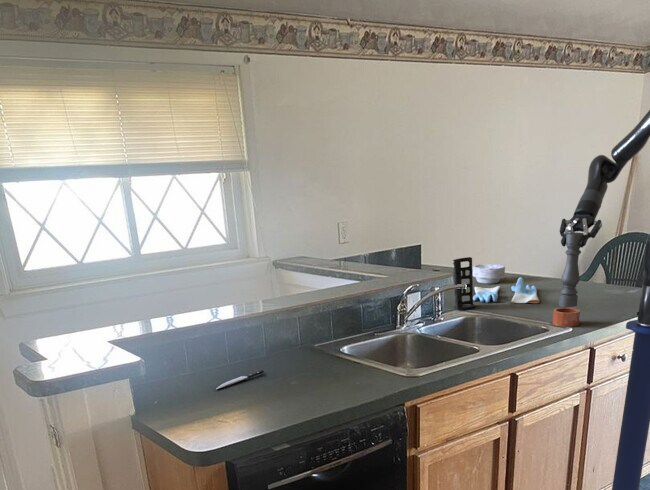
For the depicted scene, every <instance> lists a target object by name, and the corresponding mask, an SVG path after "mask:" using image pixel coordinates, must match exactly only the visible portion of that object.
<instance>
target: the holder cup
mask: <svg viewBox="0 0 650 490" xmlns="http://www.w3.org/2000/svg"><path fill="white" fill-rule="evenodd" d="M580 317H581V310H580V309H579V308H575V307H557V308H554V309H553V315H552V325H554V326H557V327H562V328H572V327H578V326H579V325H580Z"/></svg>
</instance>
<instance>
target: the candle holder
mask: <svg viewBox="0 0 650 490" xmlns="http://www.w3.org/2000/svg"><path fill="white" fill-rule="evenodd" d="M583 235H585V234H584V232H575V233H567V234H566V245H565V247H566V248H567V250H565V252H564V253H565V254H566V263H565V266H564V269H563V273H562V275H561V280H560V281H561V283H562V287H563V288H562V289H561V291H560V295H559V298H558V300H559V301H558V306H560V307H562V308H575V307H577V306H578V298H579V297H578V290H577V289H576V287H577V285H578V284H579V282H580V280H581V279H580V278H581V277H580V270H579V256H580V255H581V253H582V251H581V250H580V249H581V247H580V242H581V239H582V237H583Z"/></svg>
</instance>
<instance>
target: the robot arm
mask: <svg viewBox="0 0 650 490" xmlns="http://www.w3.org/2000/svg"><path fill="white" fill-rule="evenodd" d="M649 139H650V109H648V111H647V112H646V113H645V114H644V116H643V117H642V119H640V121H639V122H638V123H637V125H635V126H634V127H633V129H632V130H630V132H628V133H627V134H626V136H624V137H623V138H622V139H621V140H620V141H619V142H618V143H617V144H616V145H615V146H614V147H613V148H612V149H611V151H610V155H611V158H612V159H610V158H609V157H608V156H607V155H604V154H599V155H597V156H595V157H594V158H593V159H592V161H591V162H590V164H589V166H588V172H587V181H586V182H587V183H586V187H585V188H584V191H583V193H582V195H581V196H580V198H579V201H578V202H577V206H576V208H575V209H574V212H573V216H572V217H571V218H570V219H566V218H562V219H561V223H560V227H559V235H560V237H561V240H560V244H561V247H566V234H567V233H577V232H580V233H584V235H583V237H582V239H581V242H580V248H584V247H585V246H586V245H587V242H588V240H589V239H590V238H592V239H595V238H596V236H597V235H598V233H599V231H600V230H601V228H602V227H603V222H602V219H597V220H596V218H597V216H598V214H599V212H600V209H602V208H601V207H602V203H603V200H604V198H605V195H606V193H607V190H608V187H609V185H608V184H610V183H613V182H615V181H616V180H617V178H618V177H619V175H620V174H621V172H622V170H623V169H624V167H625V166H626V165H627V164H628V163H629V161H631V160H632V159H633V158H634V157H636V155H638V153H640V152H641V151H642V150H643V149H644V147H645V146H646V145H647V143H648V141H649ZM591 227H592V228H591ZM590 228H591V230H589V229H590ZM642 265H643V279H642V286H641V293H640V299H639V306H638V311H637V312H636V316H637V319H636V320H637V325H638V326H641V327H646V328H650V234H649V235H648V236H647V238H646V241H645V244H644V252H643V263H642Z"/></svg>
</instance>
